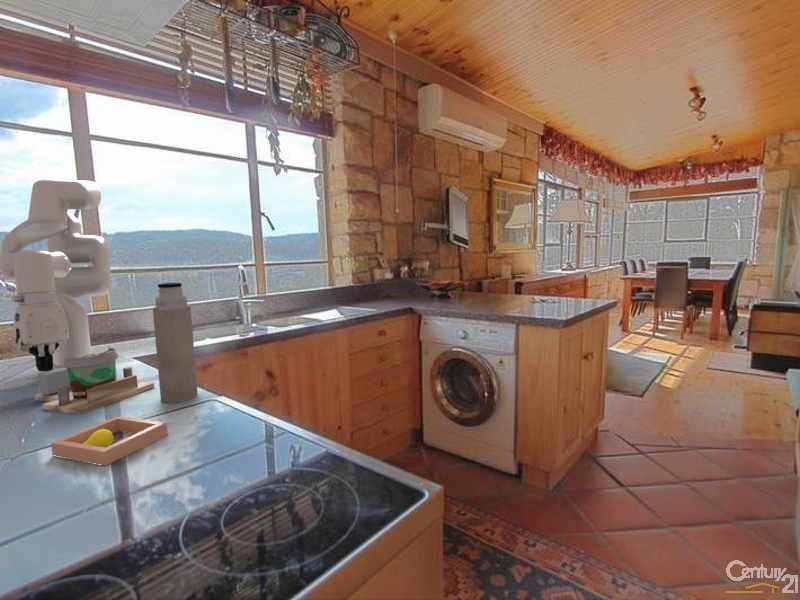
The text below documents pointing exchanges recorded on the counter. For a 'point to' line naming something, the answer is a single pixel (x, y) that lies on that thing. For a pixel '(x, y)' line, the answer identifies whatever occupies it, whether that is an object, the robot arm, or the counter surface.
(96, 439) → the light bulb
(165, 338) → the thermos bottle
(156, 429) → the pink square frame
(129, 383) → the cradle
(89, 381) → the food container
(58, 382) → the block
